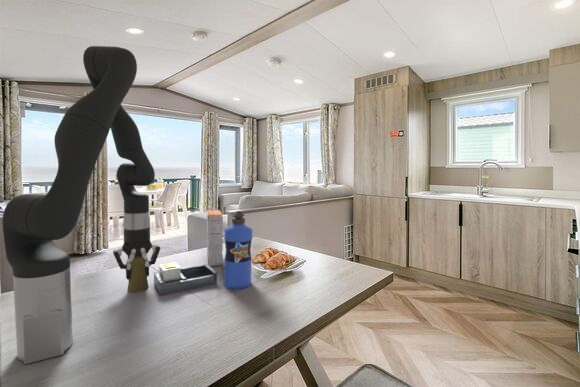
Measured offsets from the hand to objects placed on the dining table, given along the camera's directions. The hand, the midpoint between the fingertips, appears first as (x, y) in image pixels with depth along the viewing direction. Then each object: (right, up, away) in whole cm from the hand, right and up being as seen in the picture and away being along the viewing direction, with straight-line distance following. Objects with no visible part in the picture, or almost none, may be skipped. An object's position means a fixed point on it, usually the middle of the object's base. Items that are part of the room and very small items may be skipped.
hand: (137, 278), depth 96 cm
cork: (0, -3, 0) cm, 3 cm away
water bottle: (+31, -4, +6) cm, 32 cm away
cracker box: (+17, -1, +30) cm, 35 cm away
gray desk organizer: (+14, -3, +5) cm, 15 cm away
